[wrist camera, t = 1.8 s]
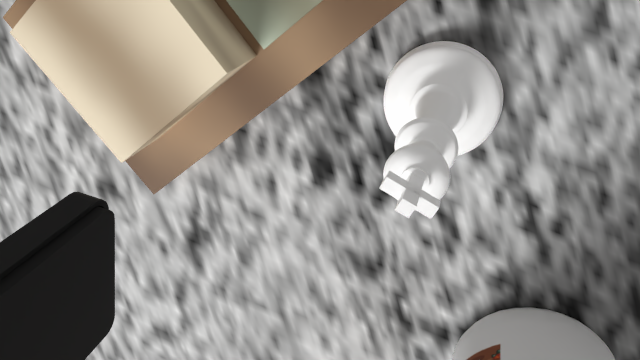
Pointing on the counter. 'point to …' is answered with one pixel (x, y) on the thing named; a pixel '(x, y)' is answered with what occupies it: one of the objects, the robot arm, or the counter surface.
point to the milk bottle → (530, 338)
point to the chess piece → (436, 119)
